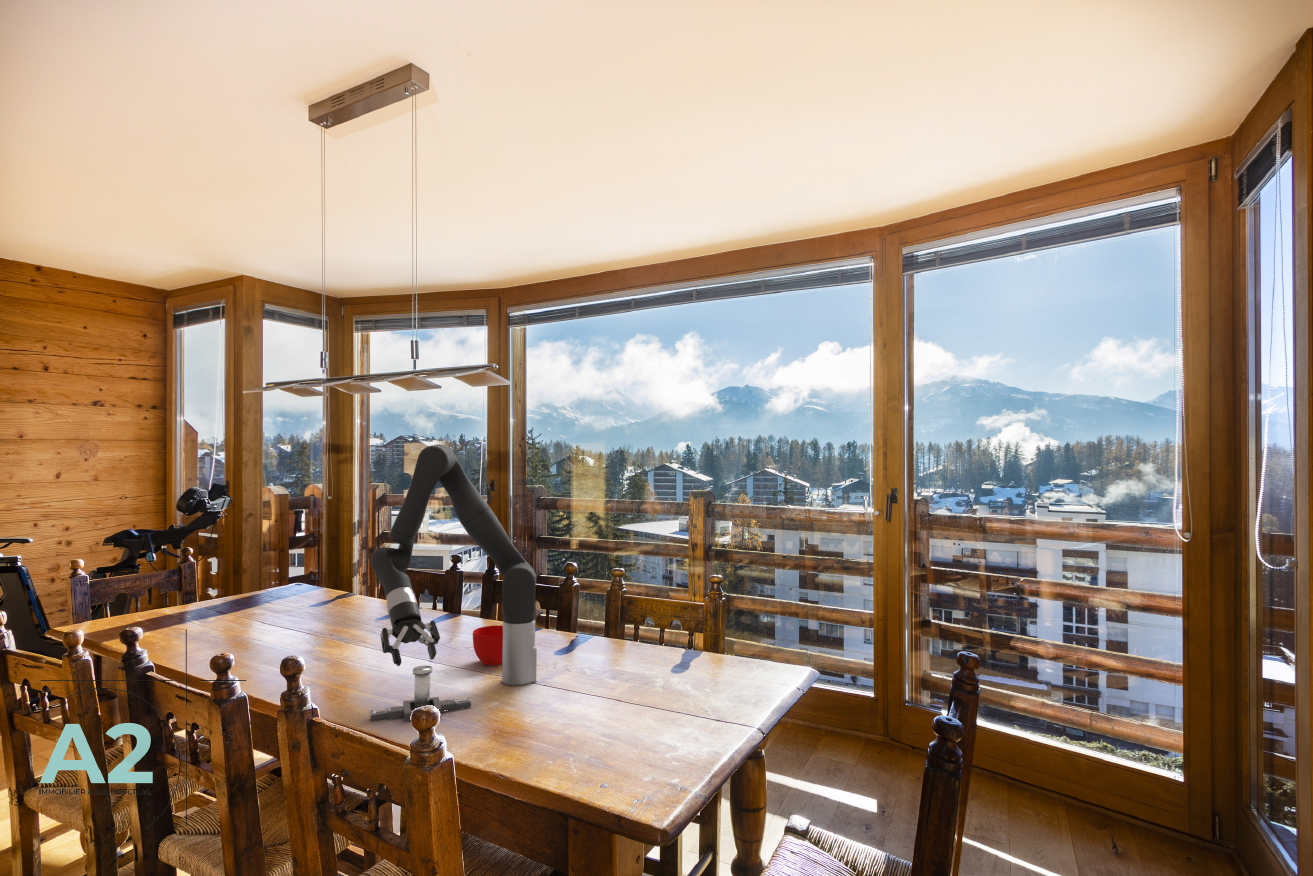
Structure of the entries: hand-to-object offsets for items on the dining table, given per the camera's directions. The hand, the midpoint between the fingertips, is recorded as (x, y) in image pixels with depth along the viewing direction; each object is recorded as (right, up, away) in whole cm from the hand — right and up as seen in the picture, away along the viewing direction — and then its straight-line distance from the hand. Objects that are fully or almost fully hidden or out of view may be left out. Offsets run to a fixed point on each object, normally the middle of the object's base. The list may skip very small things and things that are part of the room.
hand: (416, 661), depth 166 cm
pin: (+3, -11, -4) cm, 13 cm away
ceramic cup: (+12, -13, +35) cm, 39 cm away
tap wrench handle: (+3, -11, -4) cm, 13 cm away
